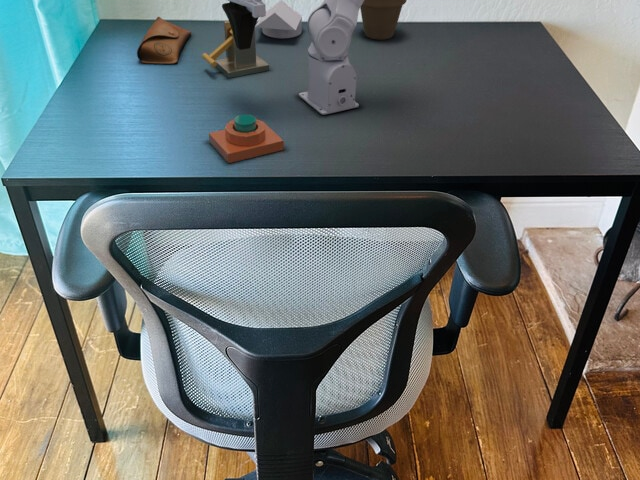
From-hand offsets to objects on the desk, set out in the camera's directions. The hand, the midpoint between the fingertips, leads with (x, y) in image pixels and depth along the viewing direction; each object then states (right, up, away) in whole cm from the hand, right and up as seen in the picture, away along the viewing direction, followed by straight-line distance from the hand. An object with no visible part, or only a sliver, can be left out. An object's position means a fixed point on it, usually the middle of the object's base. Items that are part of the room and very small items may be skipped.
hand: (243, 47), depth 116 cm
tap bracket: (-3, +4, +19) cm, 20 cm away
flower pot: (+26, +17, +36) cm, 48 cm away
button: (+1, -16, -7) cm, 18 cm away
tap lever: (-5, +6, +16) cm, 18 cm away
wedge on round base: (+4, +17, +35) cm, 39 cm away
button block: (+1, -19, -5) cm, 19 cm away
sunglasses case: (-20, +11, +27) cm, 35 cm away
